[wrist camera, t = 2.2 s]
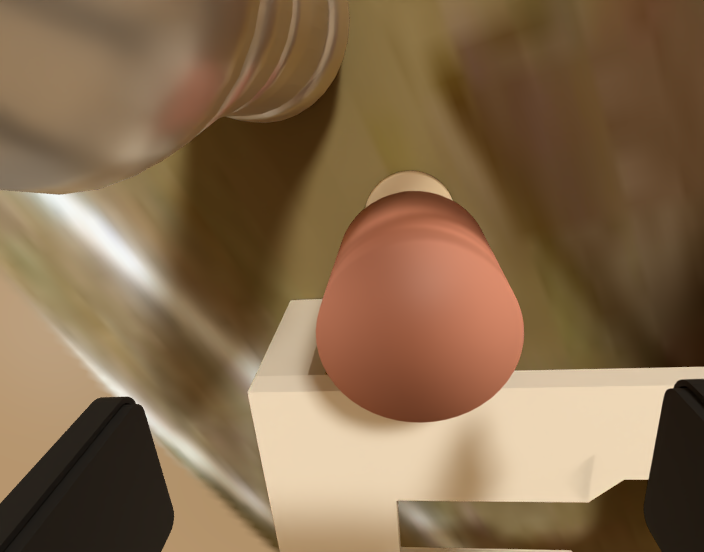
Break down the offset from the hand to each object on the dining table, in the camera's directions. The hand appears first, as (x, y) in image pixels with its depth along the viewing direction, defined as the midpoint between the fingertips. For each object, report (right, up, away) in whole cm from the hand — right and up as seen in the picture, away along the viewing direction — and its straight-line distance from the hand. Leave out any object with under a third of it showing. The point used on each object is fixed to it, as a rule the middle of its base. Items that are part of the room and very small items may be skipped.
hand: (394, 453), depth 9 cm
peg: (+2, +6, +13) cm, 14 cm away
